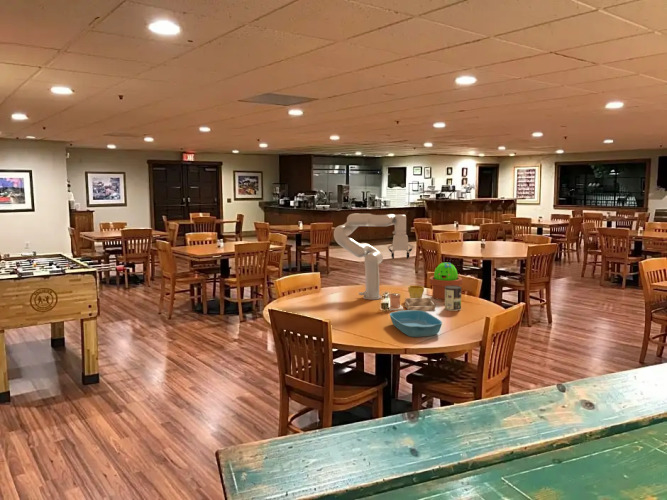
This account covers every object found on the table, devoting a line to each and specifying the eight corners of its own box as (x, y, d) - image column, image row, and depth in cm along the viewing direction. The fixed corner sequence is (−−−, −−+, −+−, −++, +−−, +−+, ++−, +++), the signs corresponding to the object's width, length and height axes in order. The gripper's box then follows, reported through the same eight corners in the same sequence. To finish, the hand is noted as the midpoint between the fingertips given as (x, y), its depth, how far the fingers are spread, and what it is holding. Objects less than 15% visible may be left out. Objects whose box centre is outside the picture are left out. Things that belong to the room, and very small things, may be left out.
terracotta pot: (390, 308, 330) (390, 295, 329) (389, 305, 336) (389, 293, 335) (401, 308, 330) (401, 295, 329) (399, 305, 337) (399, 293, 335)
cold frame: (408, 310, 327) (408, 302, 326) (405, 305, 340) (405, 298, 339) (434, 310, 328) (435, 302, 327) (430, 305, 340) (430, 297, 339)
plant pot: (423, 299, 357) (423, 285, 356) (424, 303, 347) (424, 288, 345) (407, 299, 358) (407, 285, 357) (408, 302, 348) (408, 288, 346)
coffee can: (460, 307, 334) (461, 285, 332) (461, 311, 324) (461, 288, 322) (444, 306, 336) (444, 285, 334) (444, 310, 326) (444, 288, 324)
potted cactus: (432, 293, 376) (432, 258, 373) (463, 295, 368) (464, 259, 365) (426, 299, 356) (426, 263, 353) (459, 302, 348) (460, 264, 345)
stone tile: (389, 310, 329) (389, 308, 329) (387, 306, 338) (387, 305, 337) (403, 310, 329) (403, 308, 329) (401, 306, 338) (401, 305, 338)
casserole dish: (384, 322, 302) (384, 310, 301) (421, 319, 307) (421, 307, 306) (407, 341, 266) (407, 327, 265) (448, 338, 271) (448, 324, 270)
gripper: (388, 234, 346) (388, 259, 348) (414, 233, 347) (414, 259, 349) (386, 232, 354) (386, 258, 356) (412, 232, 354) (412, 257, 356)
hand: (400, 258), depth 352 cm, fingers open, 9 cm apart
